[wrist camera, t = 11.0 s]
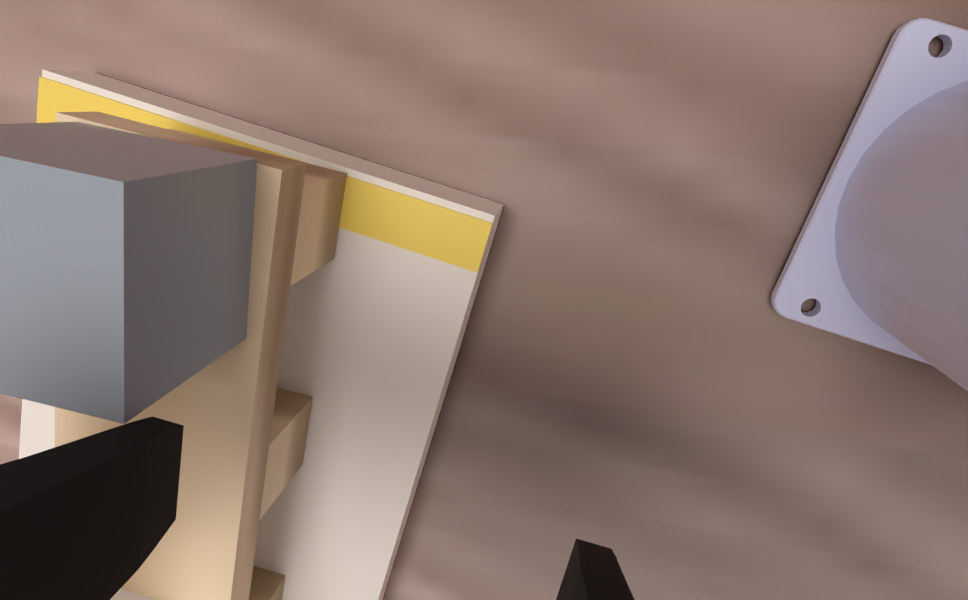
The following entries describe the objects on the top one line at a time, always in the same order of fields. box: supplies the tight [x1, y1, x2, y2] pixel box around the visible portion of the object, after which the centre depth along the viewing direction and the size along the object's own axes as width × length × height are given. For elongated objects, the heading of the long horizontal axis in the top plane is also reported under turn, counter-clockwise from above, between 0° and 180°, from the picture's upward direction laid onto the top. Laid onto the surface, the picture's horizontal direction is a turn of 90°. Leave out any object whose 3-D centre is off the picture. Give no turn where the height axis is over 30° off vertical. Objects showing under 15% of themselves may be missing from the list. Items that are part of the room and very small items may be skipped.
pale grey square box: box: [0, 121, 257, 424], centre depth 12 cm, size 4×4×4 cm
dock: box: [19, 69, 504, 600], centre depth 21 cm, size 13×17×2 cm
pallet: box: [55, 111, 347, 600], centre depth 18 cm, size 5×17×4 cm, turn 167°
